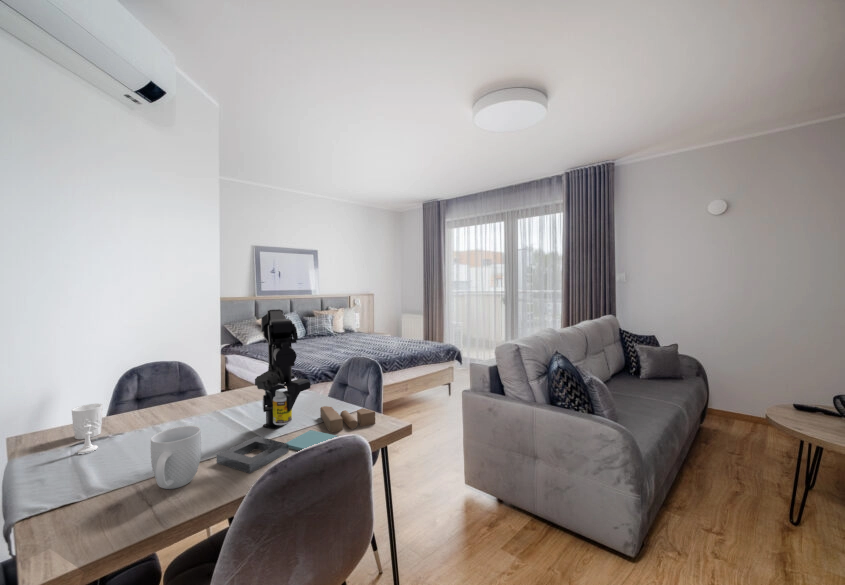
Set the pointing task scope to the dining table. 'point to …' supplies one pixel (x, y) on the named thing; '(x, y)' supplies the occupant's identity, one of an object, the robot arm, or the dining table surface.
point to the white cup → (82, 414)
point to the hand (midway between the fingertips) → (282, 409)
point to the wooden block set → (345, 418)
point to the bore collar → (247, 464)
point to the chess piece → (87, 439)
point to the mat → (308, 439)
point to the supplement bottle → (281, 409)
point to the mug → (176, 456)
